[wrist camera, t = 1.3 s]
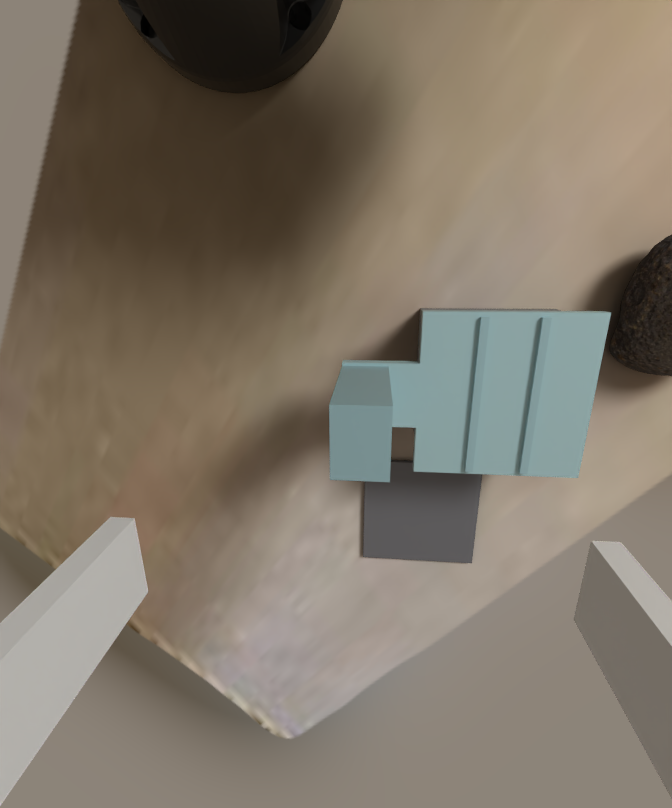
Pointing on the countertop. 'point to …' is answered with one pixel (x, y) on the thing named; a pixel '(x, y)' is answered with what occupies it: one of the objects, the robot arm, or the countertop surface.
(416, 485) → the mat
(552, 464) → the pale blue ridged block
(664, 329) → the stone
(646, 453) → the countertop surface
